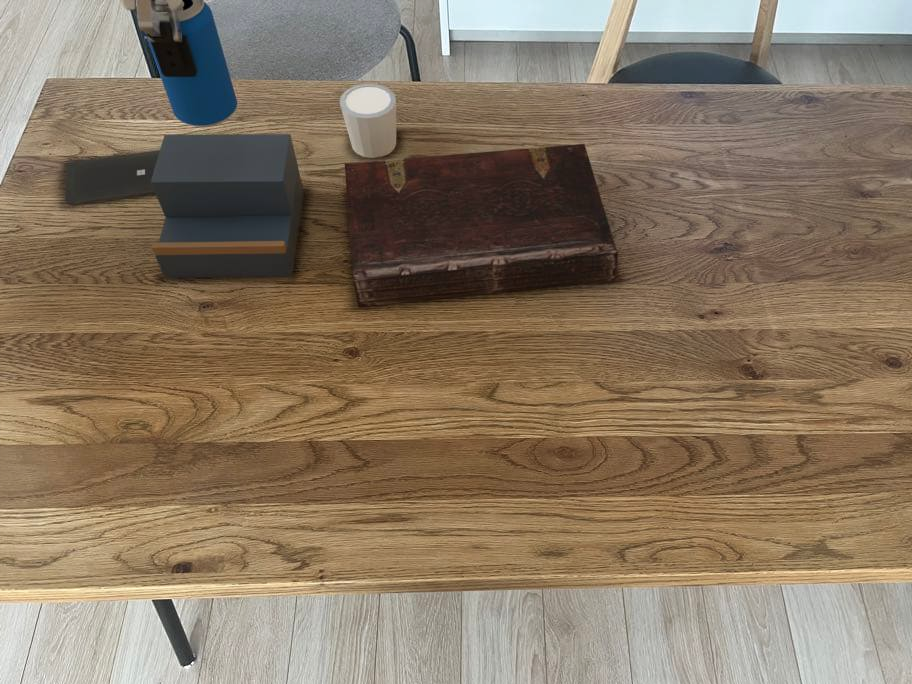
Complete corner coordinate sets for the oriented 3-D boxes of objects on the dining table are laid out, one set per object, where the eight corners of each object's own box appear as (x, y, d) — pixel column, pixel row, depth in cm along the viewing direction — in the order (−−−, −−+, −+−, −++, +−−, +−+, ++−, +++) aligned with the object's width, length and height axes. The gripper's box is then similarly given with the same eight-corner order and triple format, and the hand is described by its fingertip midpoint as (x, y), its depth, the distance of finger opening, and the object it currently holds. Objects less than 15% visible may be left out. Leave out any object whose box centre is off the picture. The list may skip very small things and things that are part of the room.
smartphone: (197, 190, 106) (195, 185, 105) (66, 208, 103) (63, 203, 102) (195, 150, 110) (193, 145, 109) (68, 167, 107) (66, 161, 106)
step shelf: (166, 280, 97) (139, 221, 90) (187, 195, 105) (164, 134, 98) (293, 278, 98) (276, 219, 91) (304, 194, 106) (290, 133, 99)
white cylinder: (339, 137, 113) (331, 90, 107) (389, 124, 115) (383, 77, 109) (358, 169, 109) (350, 123, 103) (409, 155, 111) (404, 108, 105)
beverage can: (251, 112, 91) (222, 4, 81) (200, 140, 88) (163, 31, 78) (214, 85, 94) (181, -23, 84) (162, 112, 91) (122, 3, 81)
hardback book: (359, 310, 96) (352, 279, 92) (350, 195, 106) (344, 163, 102) (613, 284, 100) (618, 253, 96) (581, 176, 110) (584, 143, 106)
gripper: (100, -193, 75) (164, 3, 90) (47, -95, 65) (129, 108, 80) (188, -191, 76) (238, 4, 90) (149, -93, 66) (212, 108, 81)
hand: (186, 51), depth 85 cm, fingers closed on beverage can, 6 cm apart
